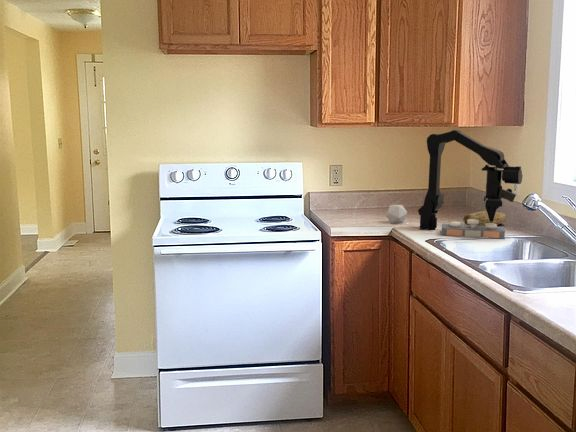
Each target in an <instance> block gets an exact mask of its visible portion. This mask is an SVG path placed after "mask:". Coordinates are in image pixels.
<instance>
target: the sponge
mask: <svg viewBox="0 0 576 432" xmlns="http://www.w3.org/2000/svg"><path fill="white" fill-rule="evenodd" d="M506 215H507V214H506V213H504V212H498V211H496V213H495V216H494V220H493V222H490V220H489V217H488V214H487V210H481V211H475V212H472V213H469V214H466V215H464V216H463V219H462V221H463V222H464V225H470V224H467V220H468V219H476V220H479V224H477V225H478V226H485V224H486V223H494V224H497V226H498V225H500V224H502V223H504V222H505V221H506V220H507V219H506V218H507V216H506Z"/></svg>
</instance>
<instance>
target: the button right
mask: <svg viewBox="0 0 576 432" xmlns="http://www.w3.org/2000/svg"><path fill="white" fill-rule="evenodd" d="M497 226H498V225H497V224H494V223H486V224H485V228H488V229H496V228H497Z"/></svg>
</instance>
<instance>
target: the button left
mask: <svg viewBox="0 0 576 432" xmlns="http://www.w3.org/2000/svg"><path fill="white" fill-rule="evenodd" d="M448 222H449V223H448V224H449V226H451V227H460V225H461V221H448Z"/></svg>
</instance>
